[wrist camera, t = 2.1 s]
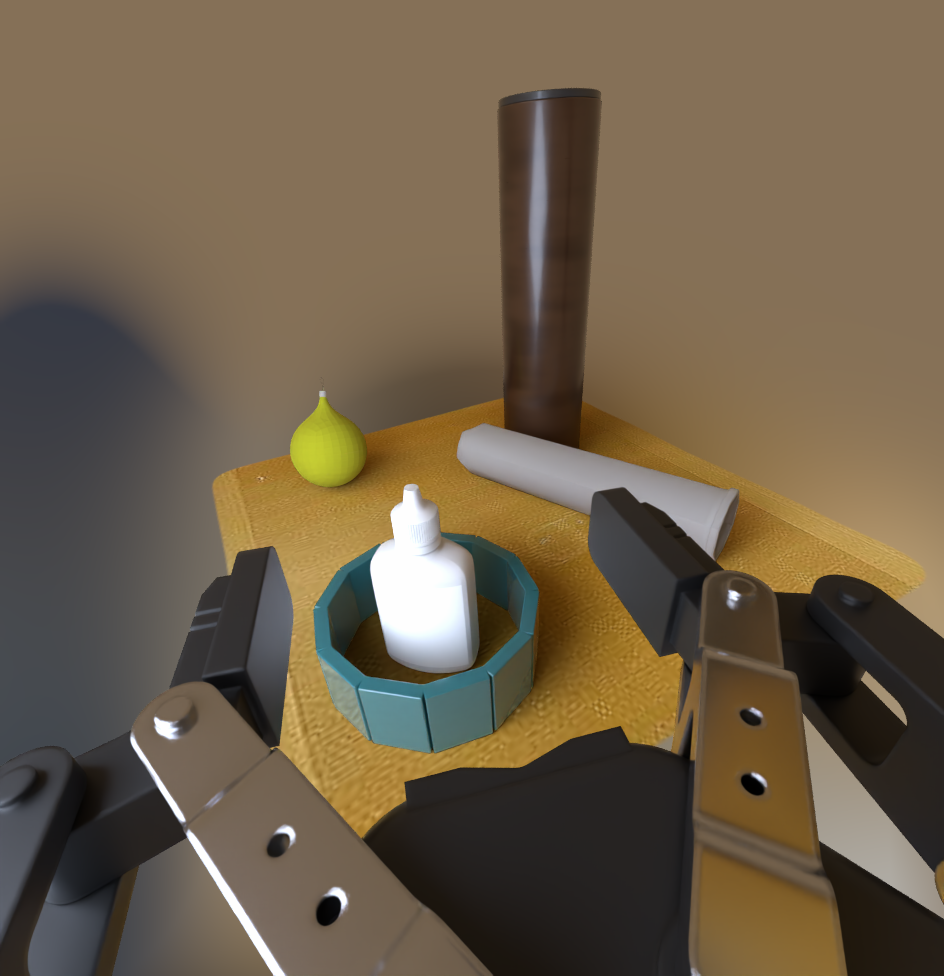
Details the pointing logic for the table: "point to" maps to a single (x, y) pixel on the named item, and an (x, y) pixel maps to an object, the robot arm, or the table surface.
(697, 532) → the tube
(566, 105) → the stand
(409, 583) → the eye dropper bottle
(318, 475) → the ornament
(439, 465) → the table surface
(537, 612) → the teal segmented ring
